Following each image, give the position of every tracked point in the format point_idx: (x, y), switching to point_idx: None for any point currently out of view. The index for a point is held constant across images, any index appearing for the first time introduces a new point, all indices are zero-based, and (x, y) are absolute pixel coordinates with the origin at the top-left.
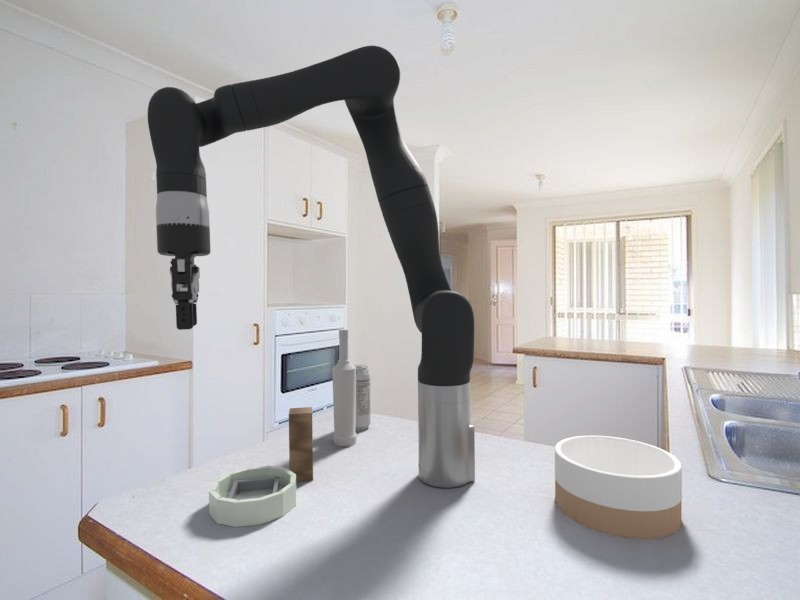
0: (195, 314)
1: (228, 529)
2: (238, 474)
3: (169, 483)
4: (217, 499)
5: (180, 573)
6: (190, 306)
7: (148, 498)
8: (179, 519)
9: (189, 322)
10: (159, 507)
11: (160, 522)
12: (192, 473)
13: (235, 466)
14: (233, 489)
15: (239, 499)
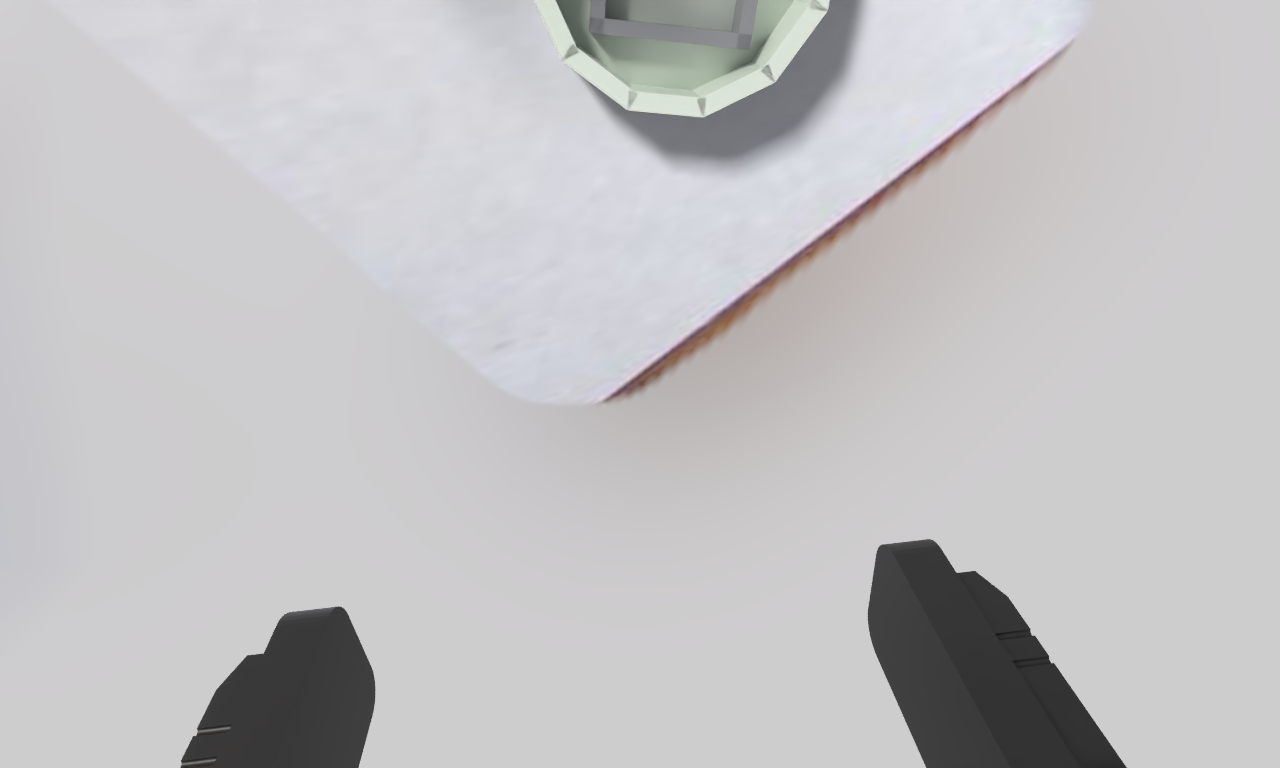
0: (295, 721)
1: None
2: (564, 19)
3: (423, 270)
4: (775, 80)
5: (954, 135)
6: (1064, 763)
7: (524, 304)
8: (688, 189)
9: (1000, 594)
10: (594, 260)
11: (687, 236)
12: (346, 212)
13: (290, 49)
14: (665, 32)
15: (754, 3)
